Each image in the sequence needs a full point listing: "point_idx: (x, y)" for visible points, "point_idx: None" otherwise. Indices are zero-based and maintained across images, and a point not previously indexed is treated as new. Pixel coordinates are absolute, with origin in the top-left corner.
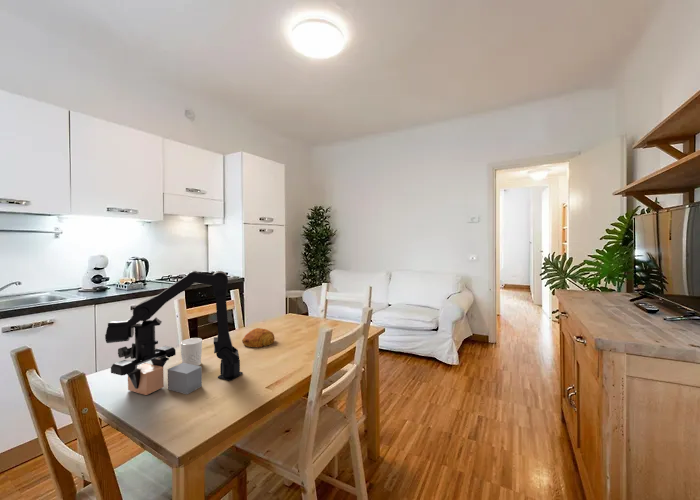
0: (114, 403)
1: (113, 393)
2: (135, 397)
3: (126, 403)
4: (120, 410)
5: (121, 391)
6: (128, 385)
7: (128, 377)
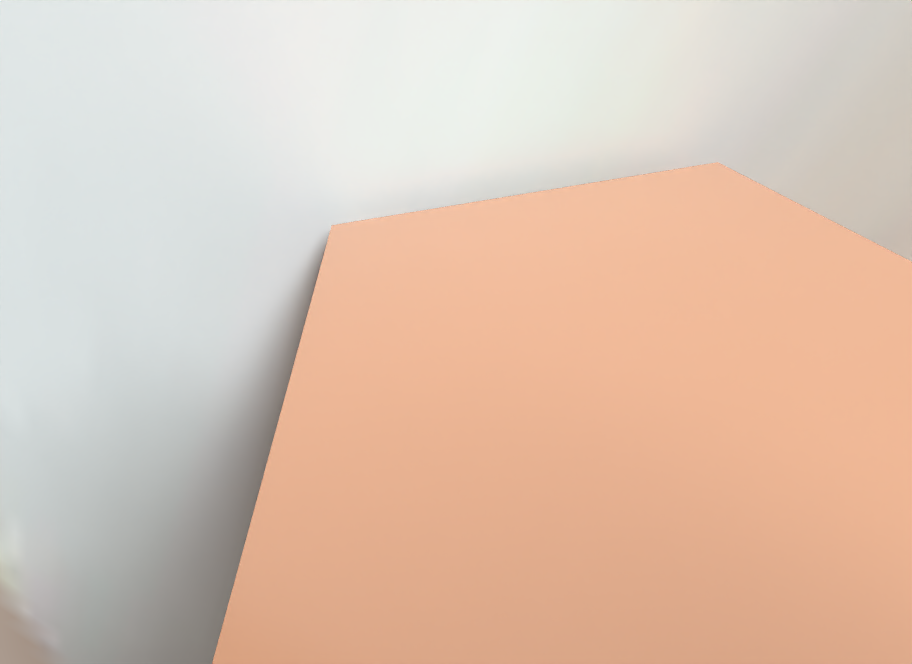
0: (55, 447)
1: (67, 7)
2: None
3: (195, 545)
4: (105, 625)
5: (239, 74)
6: (324, 284)
7: (293, 433)
